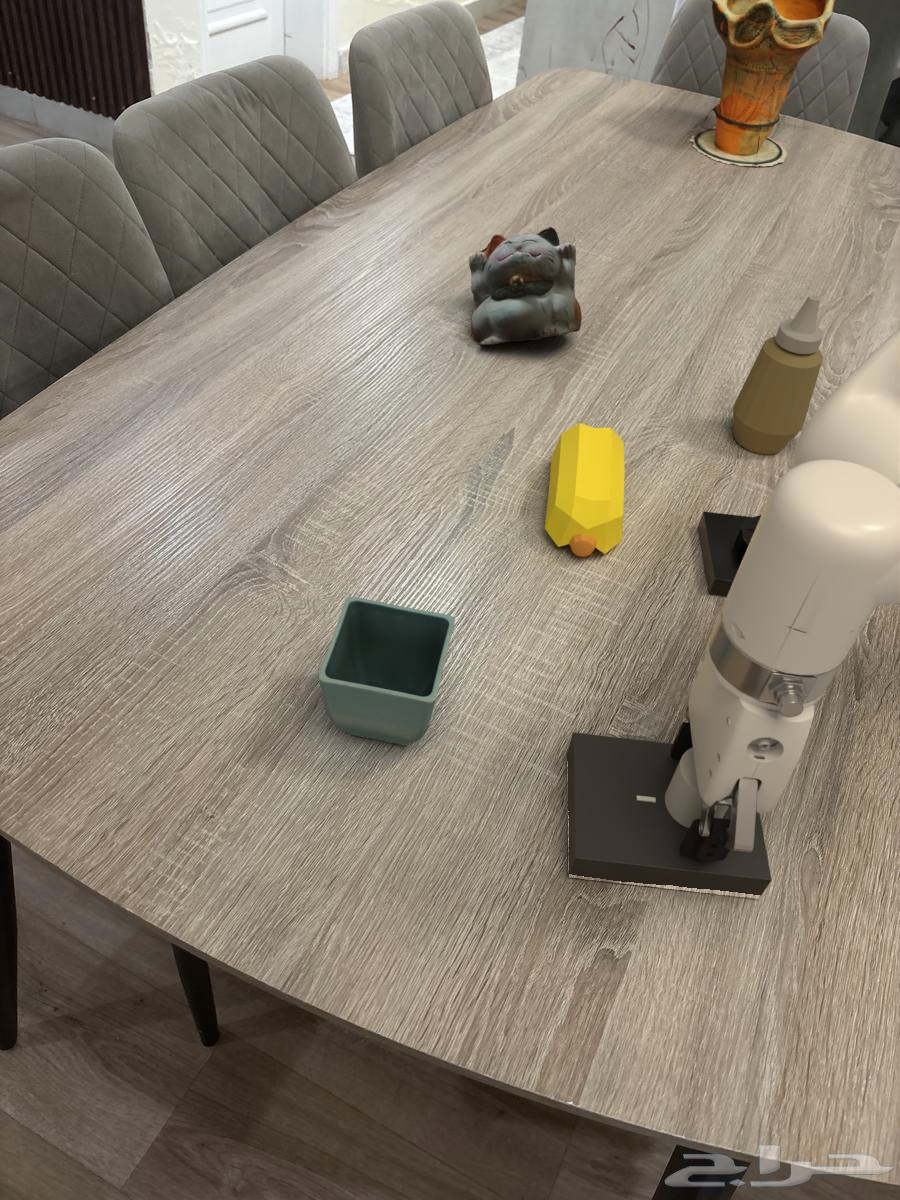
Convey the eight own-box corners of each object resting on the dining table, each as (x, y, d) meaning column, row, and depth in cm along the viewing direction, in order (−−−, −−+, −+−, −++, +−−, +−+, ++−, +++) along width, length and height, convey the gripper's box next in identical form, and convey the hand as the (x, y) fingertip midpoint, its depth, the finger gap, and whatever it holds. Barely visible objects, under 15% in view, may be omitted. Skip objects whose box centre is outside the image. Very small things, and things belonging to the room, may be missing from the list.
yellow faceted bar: (540, 559, 92) (618, 571, 92) (551, 507, 87) (633, 520, 87) (551, 451, 105) (619, 461, 104) (561, 400, 100) (633, 411, 99)
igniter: (811, 540, 98) (826, 511, 95) (831, 609, 91) (847, 579, 88) (697, 527, 97) (708, 497, 95) (708, 595, 90) (720, 565, 88)
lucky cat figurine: (453, 348, 118) (448, 229, 114) (485, 342, 128) (481, 234, 124) (570, 344, 112) (569, 219, 108) (593, 339, 123) (593, 225, 119)
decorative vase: (653, 142, 174) (693, -35, 154) (725, 120, 186) (771, -47, 166) (745, 182, 164) (801, -2, 144) (815, 156, 176) (876, -17, 156)
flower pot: (427, 772, 74) (435, 701, 67) (317, 750, 74) (316, 678, 68) (446, 687, 80) (456, 615, 73) (345, 667, 80) (346, 594, 74)
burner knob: (661, 776, 72) (678, 739, 68) (719, 782, 72) (737, 745, 68) (667, 827, 68) (685, 791, 65) (727, 833, 69) (747, 798, 65)
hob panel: (737, 773, 76) (750, 750, 74) (758, 900, 68) (772, 879, 66) (566, 753, 76) (573, 730, 74) (567, 878, 68) (575, 856, 66)
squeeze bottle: (712, 442, 108) (763, 298, 96) (739, 412, 113) (790, 271, 100) (778, 471, 106) (839, 326, 93) (803, 438, 110) (864, 297, 98)
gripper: (867, 775, 51) (762, 921, 64) (808, 558, 63) (730, 717, 76) (731, 759, 51) (653, 908, 64) (698, 545, 63) (638, 706, 76)
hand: (695, 803), depth 70 cm, fingers open, 7 cm apart
